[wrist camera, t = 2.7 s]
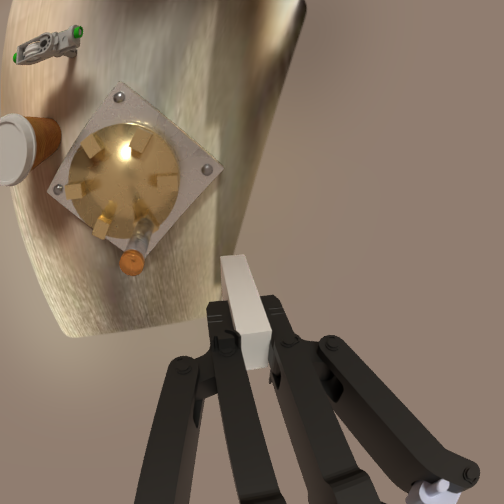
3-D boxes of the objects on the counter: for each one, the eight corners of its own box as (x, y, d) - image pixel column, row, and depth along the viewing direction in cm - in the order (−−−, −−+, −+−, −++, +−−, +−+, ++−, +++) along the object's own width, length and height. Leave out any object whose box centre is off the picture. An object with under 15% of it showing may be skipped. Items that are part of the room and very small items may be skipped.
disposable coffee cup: (48, 177, 34) (9, 203, 24) (16, 143, 29) (-27, 160, 19) (80, 132, 32) (42, 144, 22) (46, 96, 27) (3, 99, 17)
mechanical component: (102, 53, 27) (76, 40, 18) (46, 71, 25) (11, 67, 17) (103, 36, 25) (78, 19, 17) (46, 54, 24) (13, 47, 15)
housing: (123, 82, 30) (118, 80, 28) (222, 165, 40) (224, 169, 37) (53, 187, 35) (45, 192, 32) (143, 255, 44) (140, 264, 42)
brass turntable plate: (119, 100, 29) (77, 98, 17) (204, 170, 37) (207, 203, 25) (59, 189, 33) (11, 229, 21) (137, 248, 40) (118, 307, 29)
